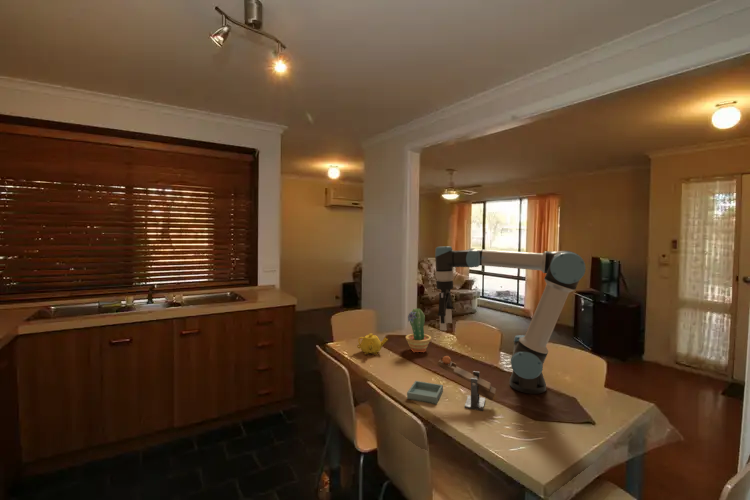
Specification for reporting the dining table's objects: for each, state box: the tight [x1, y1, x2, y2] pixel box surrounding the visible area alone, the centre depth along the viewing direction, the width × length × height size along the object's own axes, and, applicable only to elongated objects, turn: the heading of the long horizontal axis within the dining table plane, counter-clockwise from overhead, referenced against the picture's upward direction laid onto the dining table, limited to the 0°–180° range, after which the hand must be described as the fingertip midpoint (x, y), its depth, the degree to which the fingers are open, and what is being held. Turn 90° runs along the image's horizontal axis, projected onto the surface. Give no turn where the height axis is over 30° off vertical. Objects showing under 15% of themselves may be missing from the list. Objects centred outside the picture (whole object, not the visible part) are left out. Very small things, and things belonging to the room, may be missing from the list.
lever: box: [436, 356, 497, 401], centre depth 143 cm, size 24×6×5 cm, turn 68°
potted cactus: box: [405, 308, 432, 353], centre depth 207 cm, size 15×15×25 cm
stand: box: [464, 370, 486, 412], centre depth 142 cm, size 7×10×12 cm
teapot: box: [356, 333, 389, 356], centre depth 204 cm, size 14×14×11 cm
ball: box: [442, 355, 452, 365], centre depth 146 cm, size 4×4×4 cm
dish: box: [406, 380, 444, 405], centre depth 150 cm, size 13×13×3 cm
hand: (446, 326), depth 159 cm, fingers open, 13 cm apart
